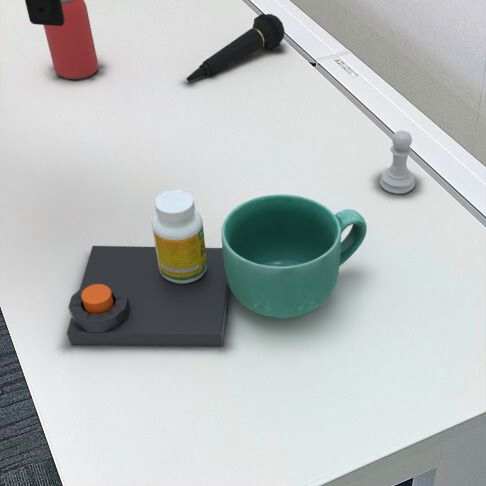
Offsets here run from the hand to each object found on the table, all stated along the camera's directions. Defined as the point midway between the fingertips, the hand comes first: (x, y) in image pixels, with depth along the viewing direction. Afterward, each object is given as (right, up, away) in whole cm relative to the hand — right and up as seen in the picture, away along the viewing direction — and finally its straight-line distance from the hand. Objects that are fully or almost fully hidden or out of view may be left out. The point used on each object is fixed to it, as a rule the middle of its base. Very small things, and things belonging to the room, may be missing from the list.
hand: (60, 1), depth 78 cm
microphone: (+11, +12, +47) cm, 50 cm away
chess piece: (+36, -13, +26) cm, 46 cm away
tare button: (+3, -30, +4) cm, 31 cm away
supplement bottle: (+10, -26, +10) cm, 30 cm away
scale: (+8, -30, +9) cm, 32 cm away
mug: (+23, -28, +11) cm, 39 cm away
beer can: (-13, +8, +42) cm, 45 cm away
